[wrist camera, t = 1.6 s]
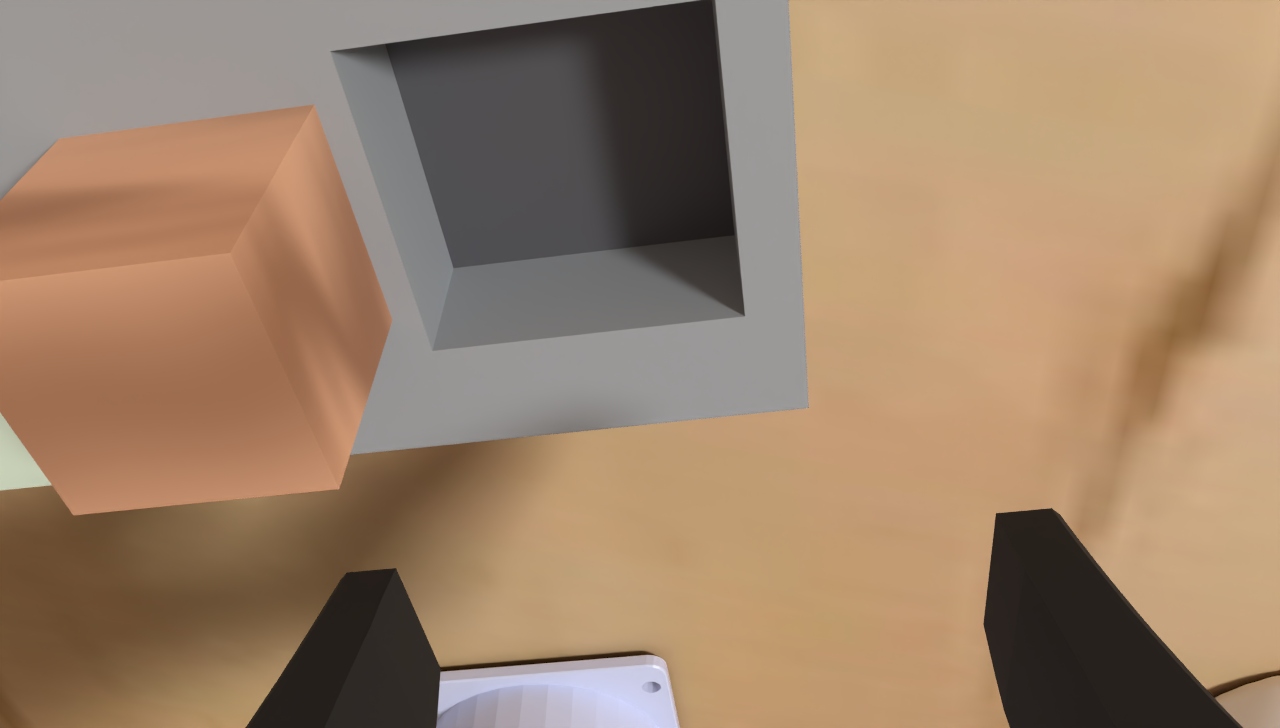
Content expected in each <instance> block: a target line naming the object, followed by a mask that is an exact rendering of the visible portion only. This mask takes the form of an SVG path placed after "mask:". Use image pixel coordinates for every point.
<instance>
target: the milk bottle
mask: <svg viewBox="0 0 1280 728" xmlns="http://www.w3.org/2000/svg"><path fill="white" fill-rule="evenodd" d="M1215 699H1216V700H1217V701H1218V702H1219V703H1220V704H1221V705H1222V707H1223V708H1224V709H1225V710H1226V711H1227V712H1228V713H1229V714H1230V715H1231V716H1232V717H1233V718H1234V719H1235V720H1236V721H1237V722H1238V723H1239V724H1240V725H1241V726H1242V727H1243V728H1280V675H1279V676H1273V677H1269V678H1266V679H1263V680H1260V681H1256V682H1253V683H1249V684H1246V685H1243V686H1241V687H1238V688H1236V689H1234V690H1231V691H1229V692H1226V693H1224V694H1221V695H1219V696H1217V697H1216V698H1215Z"/></svg>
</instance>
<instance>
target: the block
mask: <svg viewBox="0 0 1280 728" xmlns="http://www.w3.org/2000/svg"><path fill="white" fill-rule="evenodd" d="M391 323H392V317H391V315H390V312H389V309H388V306H387V304H386V301H385V298H384V295H383V293H382V290H381V287H380V284H379V282H378V279H377V276H376V273H375V271H374V268H373V265H372V262H371V260H370V257H369V254H368V251H367V248H366V246H365V243H364V240H363V237H362V235H361V232H360V229H359V226H358V224H357V221H356V218H355V215H354V213H353V210H352V207H351V204H350V202H349V199H348V196H347V193H346V191H345V188H344V185H343V182H342V180H341V177H340V174H339V171H338V169H337V166H336V163H335V160H334V158H333V155H332V152H331V149H330V147H329V144H328V141H327V138H326V136H325V133H324V130H323V127H322V124H321V122H320V119H319V116H318V113H317V111H316V108H315V105H307V106H299V107H292V108H284V109H277V110H269V111H262V112H254V113H247V114H239V115H232V116H224V117H217V118H209V119H202V120H195V121H187V122H180V123H172V124H165V125H157V126H150V127H142V128H135V129H127V130H120V131H112V132H105V133H97V134H90V135H82V136H75V137H68V138H60V139H58V140H57V141H56V143H55V144H54V145H53V146H52V147H51V148H50V149H49V150H48V151H47V152H46V153H45V154H44V155H43V156H42V157H41V158H40V159H39V160H38V161H37V163H36V164H35V165H34V166H33V167H32V168H31V169H30V170H29V171H28V172H27V173H26V174H25V175H24V176H23V177H22V178H21V179H20V180H19V181H18V182H17V184H16V185H15V186H14V187H13V188H12V189H11V190H10V191H9V192H8V193H7V194H6V195H5V196H4V197H3V198H2V199H1V200H0V413H1V414H2V416H3V417H4V419H5V420H6V421H7V423H8V424H9V426H10V427H11V428H12V430H13V431H14V433H15V434H16V435H17V437H18V438H19V440H20V441H21V442H22V444H23V445H24V447H25V448H26V449H27V451H28V452H29V454H30V455H31V456H32V458H33V459H34V461H35V462H36V463H37V465H38V466H39V468H40V469H41V471H42V472H43V473H44V475H45V476H46V478H47V479H48V480H49V482H50V483H51V485H52V486H53V487H54V489H55V490H56V492H57V493H58V494H59V496H60V497H61V499H62V500H63V501H64V503H65V504H66V506H67V507H68V508H69V510H70V511H71V513H72V514H73V515H82V514H92V513H102V512H112V511H123V510H133V509H143V508H153V507H163V506H173V505H183V504H193V503H203V502H213V501H224V500H234V499H244V498H254V497H264V496H274V495H284V494H294V493H304V492H314V491H324V490H335V489H339V488H340V485H341V482H342V479H343V476H344V473H345V469H346V466H347V463H348V460H349V457H350V454H351V450H352V447H353V444H354V441H355V438H356V434H357V431H358V428H359V425H360V422H361V419H362V415H363V412H364V409H365V406H366V403H367V400H368V396H369V393H370V390H371V387H372V384H373V381H374V377H375V374H376V371H377V368H378V365H379V361H380V358H381V355H382V352H383V349H384V346H385V342H386V339H387V336H388V333H389V330H390V327H391Z"/></svg>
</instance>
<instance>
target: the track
mask: <svg viewBox="0 0 1280 728" xmlns="http://www.w3.org/2000/svg"><path fill="white" fill-rule="evenodd" d="M307 105H315V108H316V111H317V113H318V116H319V119H320V122H321V124H322V127H323V130H324V133H325V136H326V138H327V141H328V144H329V147H330V149H331V152H332V155H333V158H334V160H335V163H336V166H337V169H338V171H339V174H340V177H341V180H342V182H343V185H344V188H345V191H346V193H347V196H348V199H349V202H350V204H351V207H352V210H353V213H354V215H355V218H356V221H357V224H358V226H359V229H360V232H361V235H362V237H363V240H364V243H365V246H366V248H367V251H368V254H369V257H370V260H371V262H372V265H373V268H374V271H375V273H376V276H377V279H378V282H379V284H380V287H381V290H382V293H383V295H384V298H385V301H386V304H387V306H388V309H389V312H390V315H391V317H392V323H391V327H390V330H389V333H388V336H387V339H386V342H385V346H384V349H383V352H382V355H381V358H380V361H379V365H378V368H377V371H376V374H375V377H374V381H373V384H372V387H371V390H370V393H369V396H368V400H367V403H366V406H365V409H364V412H363V415H362V419H361V422H360V425H359V428H358V431H357V434H356V438H355V441H354V444H353V447H352V450H351V454H350V455H353V454H363V453H373V452H382V451H392V450H402V449H412V448H422V447H431V446H441V445H451V444H461V443H471V442H480V441H490V440H500V439H510V438H520V437H530V436H539V435H549V434H559V433H569V432H579V431H588V430H598V429H608V428H618V427H628V426H637V425H647V424H657V423H667V422H677V421H686V420H696V419H706V418H716V417H726V416H735V415H745V414H755V413H765V412H775V411H784V410H794V409H804V408H809V404H808V384H807V364H806V344H805V323H804V303H803V283H802V263H801V243H800V222H799V202H798V182H797V162H796V142H795V122H794V101H793V81H792V61H791V41H790V21H789V0H0V200H1V199H2V198H3V197H4V196H5V195H6V194H7V193H8V192H9V191H10V190H11V189H12V188H13V187H14V186H15V185H16V184H17V182H18V181H19V180H20V179H21V178H22V177H23V176H24V175H25V174H26V173H27V172H28V171H29V170H30V169H31V168H32V167H33V166H34V165H35V164H36V163H37V161H38V160H39V159H40V158H41V157H42V156H43V155H44V154H45V153H46V152H47V151H48V150H49V149H50V148H51V147H52V146H53V145H54V144H55V143H56V141H57V140H58V139H60V138H68V137H75V136H82V135H90V134H97V133H105V132H112V131H120V130H127V129H135V128H142V127H150V126H157V125H165V124H172V123H180V122H187V121H195V120H202V119H209V118H217V117H224V116H232V115H239V114H247V113H254V112H262V111H269V110H277V109H284V108H292V107H299V106H307ZM49 485H51V483H50V482H49V480H48V479H47V478H46V476H45V475H44V473H43V472H42V471H41V469H40V468H39V466H38V465H37V463H36V462H35V461H34V459H33V458H32V456H31V455H30V454H29V452H28V451H27V449H26V448H25V447H24V445H23V444H22V442H21V441H20V440H19V438H18V437H17V435H16V434H15V433H14V431H13V430H12V428H11V427H10V426H9V424H8V423H7V421H6V420H5V419H4V417H3V416H2V414H1V413H0V490H10V489H20V488H30V487H39V486H49Z"/></svg>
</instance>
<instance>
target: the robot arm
mask: <svg viewBox="0 0 1280 728" xmlns="http://www.w3.org/2000/svg"><path fill="white" fill-rule="evenodd" d="M984 628H985V633H986V637H987V641H988V646H989V650H990V654H991V659H992V663H993V667H994V672H995V676H996V680H997V684H998V688H999V692H1000V696H1001V700H1002V704H1003V708H1004V711H1005V714H1006V717H1007V720H1008V723H1009V726H1010V728H1243V727H1242V726H1241V725H1240V724H1239V723H1238V722H1237V721H1236V720H1235V719H1234V718H1233V717H1232V716H1231V715H1230V714H1229V713H1228V712H1227V711H1226V710H1225V709H1224V708H1223V707H1222V705H1221V704H1220V703H1219V702H1218V701H1217V700H1216V699H1215V698H1214V697H1213V696H1212V695H1211V694H1210V693H1209V692H1208V691H1207V690H1206V689H1205V688H1204V686H1203V685H1202V684H1201V683H1200V682H1199V681H1198V680H1197V679H1196V678H1195V677H1194V676H1193V674H1192V673H1191V672H1190V671H1189V670H1188V669H1187V668H1186V667H1185V666H1184V664H1183V663H1182V662H1181V661H1180V660H1179V659H1178V658H1177V657H1176V656H1175V654H1174V653H1173V652H1172V651H1171V650H1170V649H1169V648H1168V647H1167V646H1166V644H1165V643H1164V642H1163V641H1162V640H1161V639H1160V638H1159V637H1158V636H1157V634H1156V633H1155V632H1154V631H1153V630H1152V629H1151V628H1150V626H1149V625H1148V624H1147V623H1146V622H1145V621H1144V619H1143V618H1142V617H1141V616H1140V615H1139V614H1138V612H1137V611H1136V610H1135V609H1134V608H1133V606H1132V605H1131V604H1130V603H1129V602H1128V600H1127V599H1126V598H1125V597H1124V596H1123V594H1122V593H1121V592H1120V591H1119V590H1118V588H1117V587H1116V586H1115V585H1114V584H1113V582H1112V581H1111V580H1110V579H1109V577H1108V576H1107V575H1106V574H1105V572H1104V571H1103V570H1102V569H1101V567H1100V566H1099V565H1098V564H1097V562H1096V561H1095V560H1094V559H1093V557H1092V556H1091V555H1090V553H1089V552H1088V551H1087V550H1086V548H1085V547H1084V546H1083V544H1082V543H1081V542H1080V541H1079V539H1078V538H1077V537H1076V535H1075V534H1074V533H1073V531H1072V530H1071V529H1070V527H1069V526H1068V525H1067V523H1066V522H1065V521H1064V519H1063V518H1062V517H1061V515H1060V514H1058V513H1057V512H1056V511H1054V510H1053V509H1052V508H1051V509H1040V510H1029V511H1018V512H1007V513H996V519H995V528H994V537H993V546H992V554H991V563H990V572H989V581H988V590H987V599H986V607H985V616H984ZM246 728H680V726H679V721H678V716H677V711H676V707H675V702H674V697H673V692H672V687H671V683H670V678H669V673H668V668H667V664H666V662H665V661H664V660H663V659H661V658H660V657H658V656H655V655H638V656H626V657H614V658H602V659H590V660H577V661H565V662H553V663H541V664H529V665H516V666H504V667H492V668H480V669H468V670H455V671H443V672H441V669H440V666H439V664H438V662H437V660H436V657H435V655H434V653H433V651H432V648H431V646H430V644H429V642H428V639H427V637H426V635H425V633H424V630H423V628H422V626H421V624H420V621H419V619H418V617H417V615H416V612H415V610H414V608H413V606H412V603H411V601H410V599H409V597H408V594H407V592H406V590H405V588H404V585H403V583H402V581H401V579H400V576H399V574H398V572H397V570H396V568H394V569H383V570H372V571H361V572H350V573H346V574H345V576H344V577H343V578H342V579H341V580H340V582H339V583H338V585H337V587H336V588H335V590H334V591H333V593H332V595H331V596H330V598H329V599H328V601H327V603H326V604H325V606H324V607H323V609H322V611H321V612H320V614H319V616H318V617H317V619H316V620H315V622H314V624H313V625H312V627H311V628H310V630H309V632H308V633H307V635H306V636H305V638H304V640H303V641H302V643H301V644H300V646H299V648H298V649H297V651H296V652H295V654H294V655H293V657H292V659H291V660H290V662H289V663H288V665H287V666H286V668H285V669H284V671H283V673H282V674H281V676H280V677H279V679H278V680H277V682H276V683H275V685H274V686H273V688H272V689H271V691H270V692H269V694H268V695H267V697H266V698H265V700H264V701H263V703H262V704H261V706H260V707H259V709H258V710H257V712H256V713H255V715H254V716H253V718H252V719H251V721H250V722H249V724H248V725H247V727H246Z"/></svg>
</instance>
